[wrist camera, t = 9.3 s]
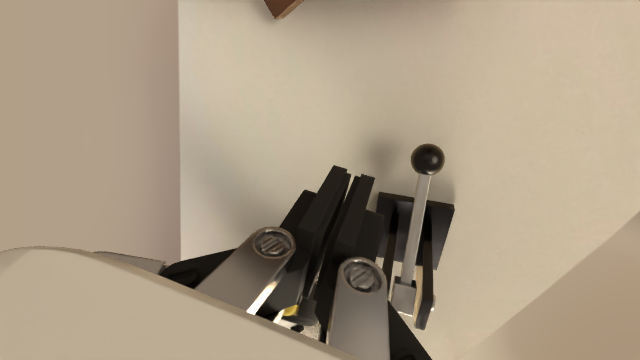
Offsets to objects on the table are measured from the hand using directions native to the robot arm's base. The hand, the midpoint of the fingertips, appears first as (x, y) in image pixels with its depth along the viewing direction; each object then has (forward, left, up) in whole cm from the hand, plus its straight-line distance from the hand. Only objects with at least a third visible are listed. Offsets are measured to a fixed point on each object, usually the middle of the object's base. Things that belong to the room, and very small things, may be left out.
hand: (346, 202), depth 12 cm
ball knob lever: (+4, +13, -17) cm, 22 cm away
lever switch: (+7, +18, -24) cm, 30 cm away
